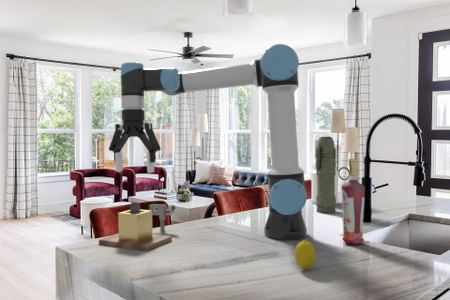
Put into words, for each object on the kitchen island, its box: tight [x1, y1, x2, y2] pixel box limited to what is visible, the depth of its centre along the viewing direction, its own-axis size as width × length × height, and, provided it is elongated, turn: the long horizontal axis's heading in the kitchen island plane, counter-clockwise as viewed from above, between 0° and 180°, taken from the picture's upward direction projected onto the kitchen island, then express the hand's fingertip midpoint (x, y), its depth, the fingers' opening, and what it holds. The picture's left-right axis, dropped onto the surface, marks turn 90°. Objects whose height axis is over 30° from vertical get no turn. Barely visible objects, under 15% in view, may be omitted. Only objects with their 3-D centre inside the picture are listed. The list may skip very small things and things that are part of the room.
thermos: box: [315, 136, 337, 214], centre depth 190 cm, size 9×12×35 cm
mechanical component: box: [148, 203, 177, 232], centre depth 156 cm, size 3×10×10 cm, turn 78°
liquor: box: [341, 158, 366, 246], centre depth 134 cm, size 7×7×28 cm
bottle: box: [310, 157, 340, 205], centre depth 213 cm, size 14×14×28 cm
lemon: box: [294, 239, 317, 270], centre depth 109 cm, size 6×6×8 cm
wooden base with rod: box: [98, 201, 173, 252], centre depth 139 cm, size 20×14×14 cm
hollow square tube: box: [117, 209, 153, 242], centre depth 139 cm, size 8×8×9 cm
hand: (134, 172), depth 138 cm, fingers open, 13 cm apart
